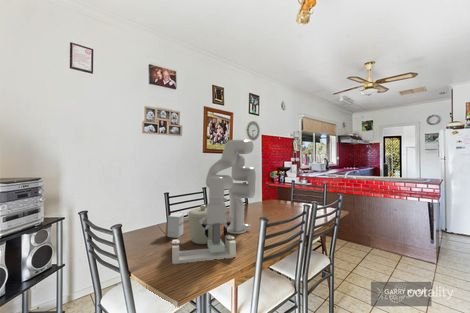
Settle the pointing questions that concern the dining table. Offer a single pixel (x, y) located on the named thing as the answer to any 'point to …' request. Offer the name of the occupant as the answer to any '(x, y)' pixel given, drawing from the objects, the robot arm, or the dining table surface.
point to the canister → (198, 226)
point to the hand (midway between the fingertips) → (216, 235)
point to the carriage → (216, 240)
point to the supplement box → (175, 225)
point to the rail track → (204, 256)
